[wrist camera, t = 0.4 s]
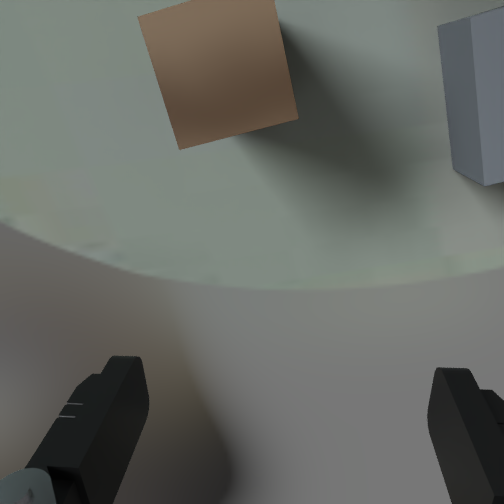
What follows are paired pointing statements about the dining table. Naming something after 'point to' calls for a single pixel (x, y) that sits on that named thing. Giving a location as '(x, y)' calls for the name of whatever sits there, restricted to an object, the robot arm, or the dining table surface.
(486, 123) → the slate base
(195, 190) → the dining table surface
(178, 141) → the walnut column
